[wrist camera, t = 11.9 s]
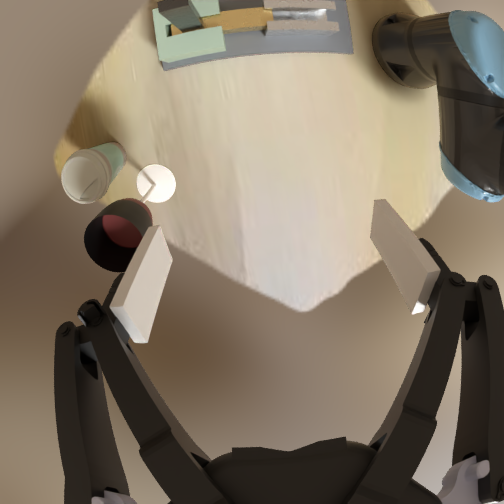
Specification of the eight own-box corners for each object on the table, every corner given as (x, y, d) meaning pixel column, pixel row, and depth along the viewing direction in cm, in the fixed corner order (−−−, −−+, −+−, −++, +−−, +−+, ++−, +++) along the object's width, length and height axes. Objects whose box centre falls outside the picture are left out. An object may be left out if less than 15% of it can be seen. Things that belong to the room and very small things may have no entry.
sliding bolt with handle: (269, 12, 27) (284, -23, 15) (271, 29, 29) (288, 1, 17) (175, 26, 28) (142, 0, 15) (177, 43, 30) (145, 24, 17)
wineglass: (187, 188, 46) (158, 253, 30) (151, 211, 49) (113, 281, 32) (161, 153, 42) (115, 201, 26) (126, 179, 44) (73, 237, 28)
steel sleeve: (324, 9, 27) (334, 1, 23) (328, 36, 30) (339, 31, 26) (260, 9, 28) (263, -1, 23) (264, 36, 31) (268, 30, 26)
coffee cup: (98, 181, 44) (66, 210, 34) (89, 139, 39) (52, 159, 29) (137, 175, 44) (110, 203, 34) (129, 130, 39) (97, 147, 29)
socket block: (219, 4, 27) (216, -6, 23) (226, 51, 32) (224, 46, 28) (161, 16, 27) (152, 9, 23) (168, 62, 32) (159, 60, 28)
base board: (342, -1, 27) (345, -3, 25) (350, 54, 33) (353, 53, 32) (157, 15, 28) (155, 13, 27) (165, 70, 34) (163, 70, 33)
